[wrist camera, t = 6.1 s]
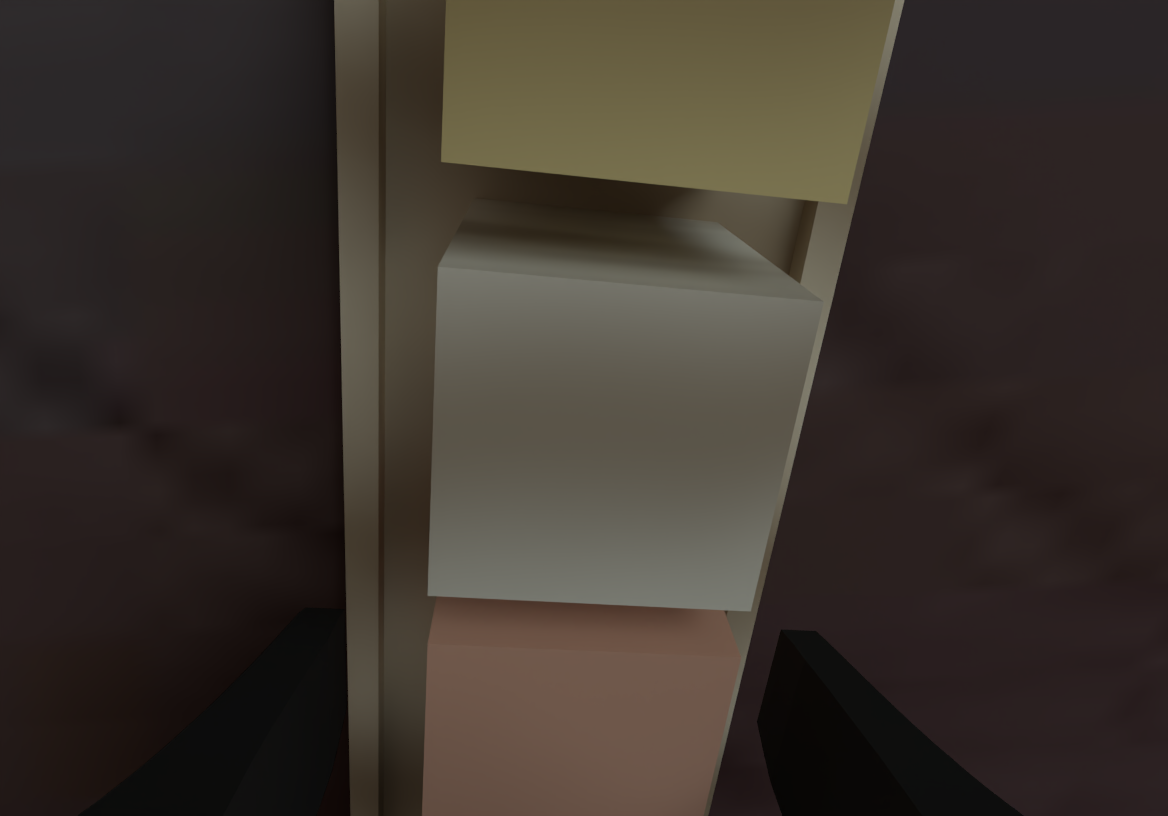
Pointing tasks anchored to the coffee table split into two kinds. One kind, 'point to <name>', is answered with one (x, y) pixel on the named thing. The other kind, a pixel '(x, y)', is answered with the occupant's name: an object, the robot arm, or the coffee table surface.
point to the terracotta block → (574, 708)
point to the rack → (578, 309)
